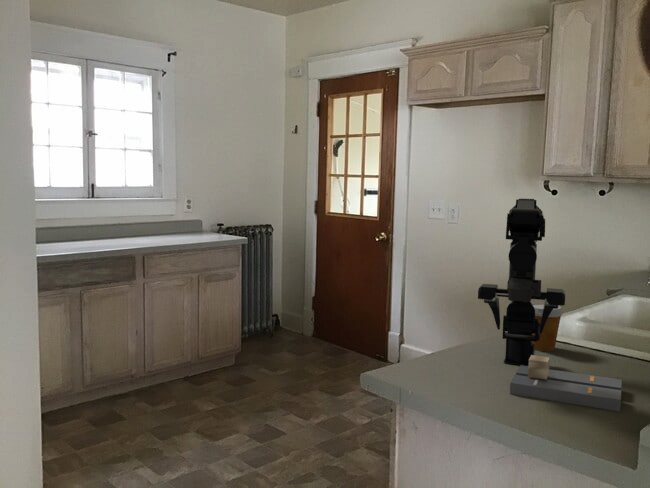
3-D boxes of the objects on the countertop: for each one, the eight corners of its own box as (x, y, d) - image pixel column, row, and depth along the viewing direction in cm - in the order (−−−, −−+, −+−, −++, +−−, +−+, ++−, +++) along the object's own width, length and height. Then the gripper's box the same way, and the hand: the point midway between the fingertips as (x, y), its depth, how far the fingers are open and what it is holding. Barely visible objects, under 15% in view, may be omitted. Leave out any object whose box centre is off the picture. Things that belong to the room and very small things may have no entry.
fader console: (509, 393, 135) (510, 382, 135) (519, 375, 148) (520, 364, 148) (620, 411, 126) (621, 399, 126) (620, 390, 138) (621, 379, 138)
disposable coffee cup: (560, 345, 174) (562, 304, 173) (561, 354, 165) (563, 311, 164) (524, 342, 177) (526, 301, 176) (524, 351, 168) (526, 308, 167)
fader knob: (527, 384, 139) (528, 359, 138) (530, 379, 142) (531, 355, 141) (546, 387, 137) (547, 362, 136) (548, 382, 140) (549, 357, 140)
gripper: (476, 266, 135) (473, 335, 137) (567, 271, 129) (563, 344, 130) (482, 259, 146) (479, 324, 147) (566, 264, 139) (562, 332, 141)
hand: (519, 331), depth 141 cm, fingers open, 9 cm apart
